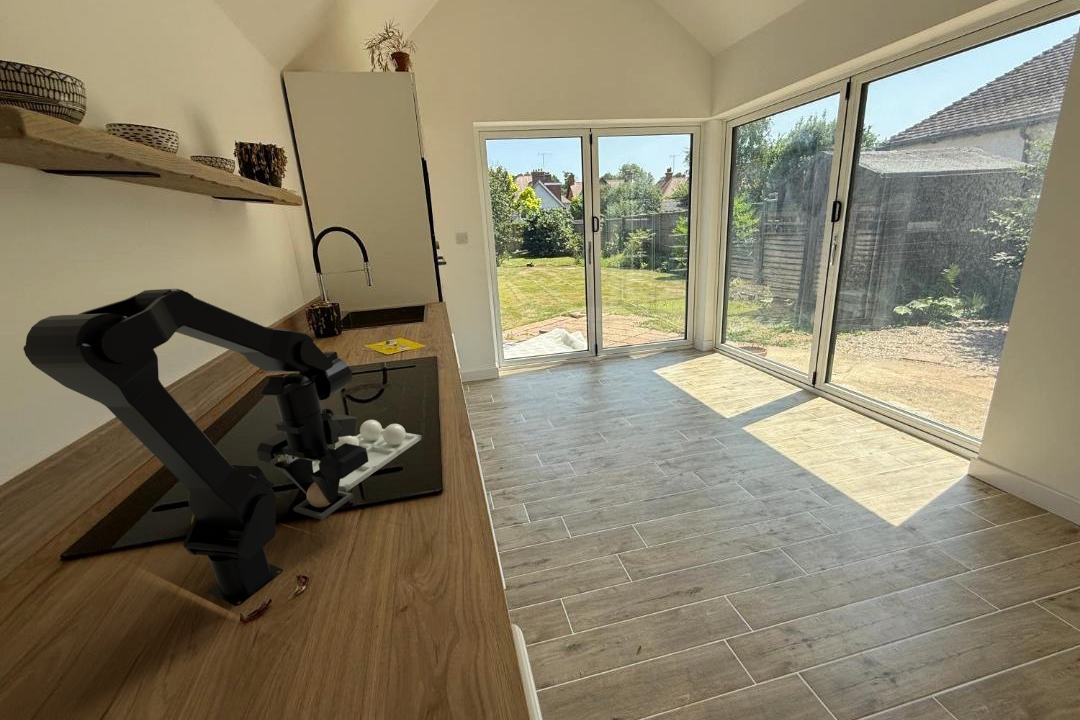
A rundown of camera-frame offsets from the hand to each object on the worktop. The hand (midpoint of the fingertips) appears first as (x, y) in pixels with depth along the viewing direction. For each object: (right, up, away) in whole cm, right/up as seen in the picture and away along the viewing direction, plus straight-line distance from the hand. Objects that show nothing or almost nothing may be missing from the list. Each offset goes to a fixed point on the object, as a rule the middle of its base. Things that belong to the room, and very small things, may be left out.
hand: (322, 499), depth 76 cm
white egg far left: (+6, +6, +19) cm, 21 cm away
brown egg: (0, -1, 0) cm, 1 cm away
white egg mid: (-2, +4, +16) cm, 17 cm away
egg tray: (+1, +3, +15) cm, 15 cm away
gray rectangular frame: (0, -2, +1) cm, 2 cm away
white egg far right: (0, +6, +22) cm, 22 cm away
